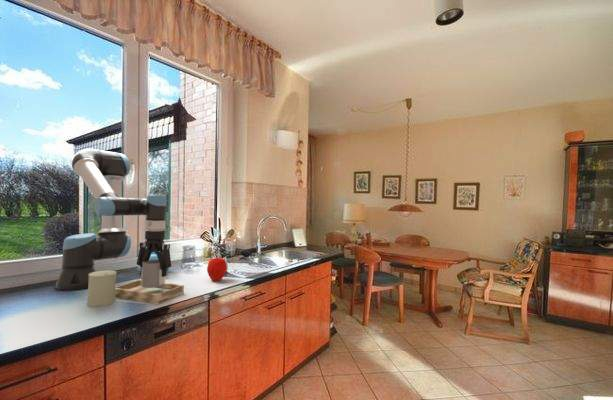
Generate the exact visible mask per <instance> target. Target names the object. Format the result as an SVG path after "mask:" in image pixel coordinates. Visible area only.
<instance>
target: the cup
mask: <svg viewBox="0 0 613 400" xmlns="http://www.w3.org/2000/svg"><path fill="white" fill-rule="evenodd" d="M159 269H161V266H160V263H159V260H148V261H147V262H143V268H142V287H145V288H153V287H159V286H162V285H163V284H162V285H159Z"/></svg>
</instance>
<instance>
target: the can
mask: <svg viewBox="0 0 613 400" xmlns="http://www.w3.org/2000/svg"><path fill="white" fill-rule="evenodd" d="M116 286H117V271H116V270H109V269H108V270H98V271H96V270H95V272H92V273H90V274H89V283H88V288H87V290H88V291H87V301H86V305H87V306H88V307H94V308H95V307H103V306H109V305H112V304H113V303H115V302H116V298H115V291H116Z"/></svg>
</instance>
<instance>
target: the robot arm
mask: <svg viewBox="0 0 613 400" xmlns="http://www.w3.org/2000/svg"><path fill="white" fill-rule="evenodd" d="M71 159H72V160H71V168H72V170H73V171H74V173H75V174H76V175H78V176H79V177H80V178H81V179H82V181H83V182H84V184H85V185H86V187H87V188H88V190H89V192H90V193H91V194H92V196H93V198H94V199H95V200H94V203H93V209H94V213H95V214H96V215H98V216H101V229H100V230H99V231H98V232H97V234H96V233H94V232H93V233H92V232H89V233H80V234H72V235H70V236H67V237H65V238H64V239H63V245H62V261H61V272H60V273H59V275H58V278H57V280H56V283H55V289H57V290H59V291H60V290H61V291H74V290H83V289H88V283H89V274H90V273H92V272H96V269H95V261H103V260H110V259H111V260H112V259H118V258H123V257H125V256H127V255H128V254H129V252H130V251H131V246H132V238H131V236H130V235H129V234H128V233H127V231H126V229H125V228H123V216H145V234H144V239H145V240H146V241H143V242H139V244H138V245H139V250H138V254H137V259H136V265H137V266H138V265H139V266H140V267H141V271H139V272H140V276H141V277H140V280H141V283H142V268H143V262H147V261H148V260H149V258H150V256H151V254H152V253H153V252H155V254H156V255H157V257H158V260H159V263H160V266H161V269H159V285H162V284H164V283H166V277H167V274H168V273H167V272H168V271H167V268H171V267H172V260H171V252H170V249H171V244H170V243H165V242H164V240H165V238H166V231H165V230H166V217H167V205H168V203H167V196H166V195H165V194H154V193H153V194H152V193H151V194H147V197H146V198H145V197H143V198H140V197H135V198H133V197H123V194H122V193H123V192H122V191H123V190H122V189H123V188H122V187H123V186H122V184H123V183H122V182H123V181H124V180H125V179H126V176H128V175H129V174H130V171H131V164H130V160H129V158H128V157H127V155H125V154H123V153H119V152H116V151H108V150H102V149H101V150H100V149H96V148H84V149H82V150H80V151H78V152H76V153H75V154H74V155H73V157H72V158H71Z"/></svg>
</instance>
